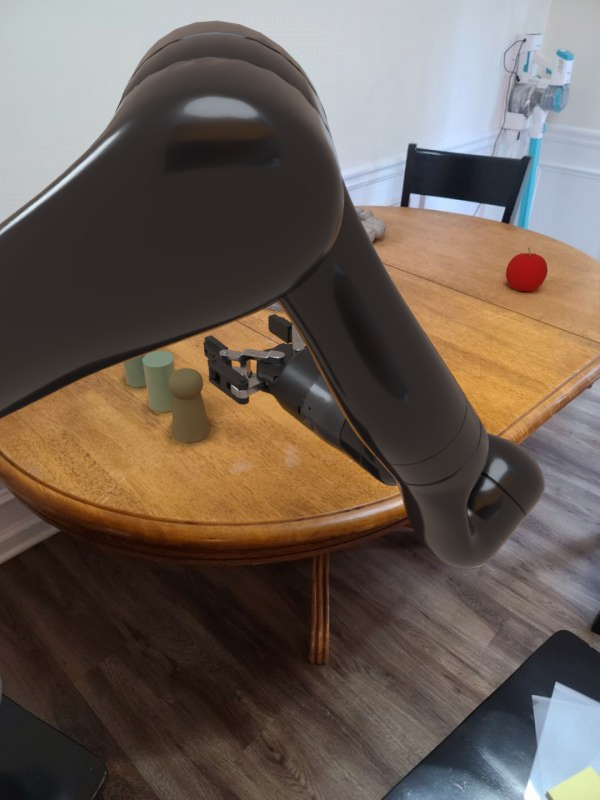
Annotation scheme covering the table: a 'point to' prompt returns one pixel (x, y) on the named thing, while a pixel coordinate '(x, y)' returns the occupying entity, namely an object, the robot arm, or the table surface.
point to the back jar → (135, 372)
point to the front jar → (159, 379)
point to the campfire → (371, 224)
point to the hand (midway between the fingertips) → (240, 332)
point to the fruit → (526, 271)
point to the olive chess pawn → (188, 406)
